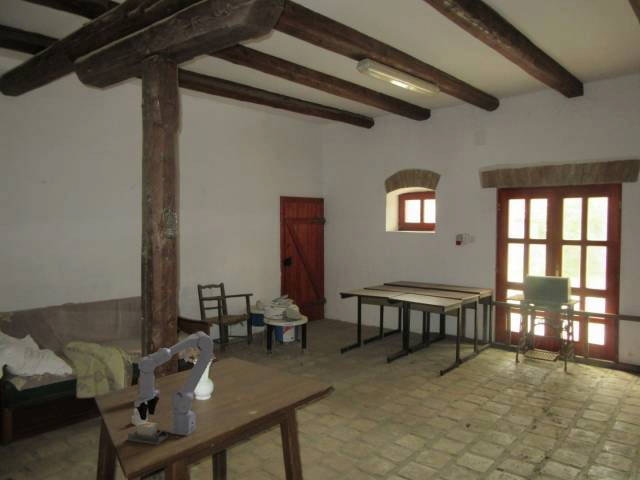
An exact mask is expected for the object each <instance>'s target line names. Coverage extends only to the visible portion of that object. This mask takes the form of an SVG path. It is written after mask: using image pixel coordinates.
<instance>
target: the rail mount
mask: <svg viewBox="0 0 640 480" xmlns="http://www.w3.org/2000/svg"><path fill="white" fill-rule="evenodd" d="M168 437H169V434H168V430H165V429H158V428H157V434H156V435H155V436H153V437H151V436H145V435H138V434H137V430H136V431H135V432H133V433H131V432H129V433H128V434H127V437H126V440H127V441H131V442H138V443H145V444H150V445H157V446H158V445H159V444H161V443H162V442H164V441H165V440H167V438H168Z"/></svg>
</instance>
